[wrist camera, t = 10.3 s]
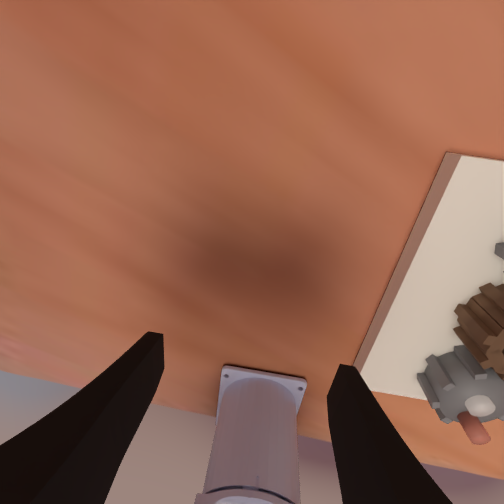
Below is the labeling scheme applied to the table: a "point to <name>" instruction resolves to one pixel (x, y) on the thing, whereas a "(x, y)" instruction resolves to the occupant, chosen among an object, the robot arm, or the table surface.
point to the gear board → (442, 299)
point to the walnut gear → (484, 327)
